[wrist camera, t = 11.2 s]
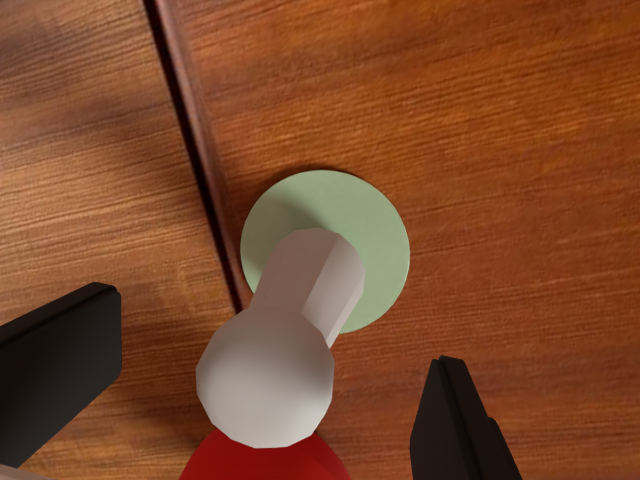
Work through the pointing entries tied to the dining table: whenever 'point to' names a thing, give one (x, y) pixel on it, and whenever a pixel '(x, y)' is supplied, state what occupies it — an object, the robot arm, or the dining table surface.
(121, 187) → the dining table surface
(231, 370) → the salt shaker
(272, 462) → the tomato
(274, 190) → the coaster
